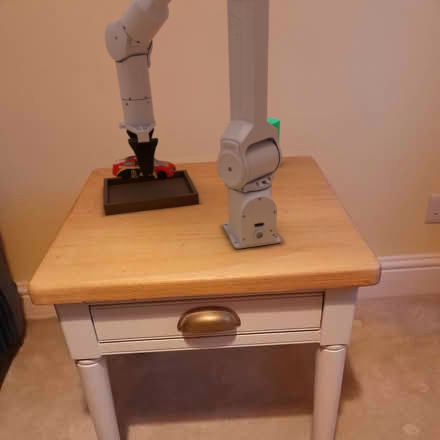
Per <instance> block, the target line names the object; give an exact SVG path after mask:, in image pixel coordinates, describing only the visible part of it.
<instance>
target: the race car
mask: <svg viewBox="0 0 440 440" xmlns="http://www.w3.org/2000/svg"><path fill="white" fill-rule="evenodd" d="M176 171H177V166H176V165H175V164H174V163H173V162H171V161H167V160H159V159H157V158H156V157H154V169H153V174H152V175H142V173H141V170H140V167H139V164H138V161H137V158H136V155H135V154H134V155H129V156H126V157H124V158H120V159H117V160H115V161H114V162H113V164H112V168H111V172H112V174H111V175H112V176H114V177H121V178H122V179H124V180H127V179H129V178H157V177H158V178H159V179H160V180H165V179H166V178H167V176H168V177H171V176H173V175H175V174H176V173H177V172H176Z"/></svg>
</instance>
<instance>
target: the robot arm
mask: <svg viewBox="0 0 440 440" xmlns="http://www.w3.org/2000/svg"><path fill="white" fill-rule="evenodd" d="M171 2H172V0H131V1H130V2H129V4H128V5H127V6H126V7H127V8H126V9H125V10H124V11H123V13H122V16H121V17H120V19H116V20H112V21H109V22H108V23H107V24H106V27H105V30H104V43H105V48H106V50H107V53H108V54H109V56H110V58H111V59H112V60H114V63H115V69H116V76H117V83H118V88H119V95H120V101H121V107H122V113H123V114H122V115H123V121H124V122H119V123H118V128H119V129H124V130H125V131H126V134H127V136H128V137H129V138H127V143H128V146H129V147H130V148H131V150H132V151H133V154H134V155H136V158H137V161H138V164H139V167H140V170H141V173H142V175H152V174H153V169H154V158H155V153H156V149H157V146H158V145H159V138H158V137H153V135H154V132H155V128H156V126H157V122H156V120H155V112H154V107H153V106H154V105H153V104H154V103H153V96H152V87H151V81H150V80H151V79H150V70H149V69H150V68H151V65H152V63H151V56H152V53H153V52H152V51H153V48H154V47H153V46H154V41H153V39H154V38H155V37H156V36H157V34H158V33H159V31H160V30H161V28H162V27H163V25H165V23H166V21H167V20H168V18H169V16H170V8H169V4H170V3H171ZM226 12H227V43H228V44H227V45H228V49H227V50H228V51H227V52H228V85H229V89H228V90H229V119H230V120H229V123H228V125H227V127H226V128H225V130H224V131H223V132H222V135H221V137H220V139H219V144H220V146H219V152H218V156H217V159H216V169H217V174H218V176H219V178H220V180H221V181H222V182H223V184H224V187H226V188H227V200H228V201H227V204H228V208H227V209H228V221H226V222H222V227H223V229H224V230H225V232H226V234H227V237H228V238H229V240H230V242H231V244H232V246H233V247H234V249H237V250H238V249H244V248H245V249H246V248H253V247H260V246H266V245H273V244H280V243H281V242H282V239H281V237H280V236H279V235H278V233H277V222H278V221H277V219H278V208H277V204H276V203H275V201H274V199H273V195H272V193H273V192H272V190H273V188H272V187H273V181H274V180H275V173H276V172H278V171H279V169H280V168H281V166H282V163H283V152H282V148H281V146H280V141H279V142H278V130H277V129H276V128H275V127H274V126H273V125H272V124H270V123H269V122H268V121H267V113H268V89H269V81H268V80H269V36H270V35H269V32H270V31H269V29H270V28H269V27H270V0H226Z"/></svg>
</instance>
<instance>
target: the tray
mask: <svg viewBox="0 0 440 440" xmlns="http://www.w3.org/2000/svg"><path fill="white" fill-rule="evenodd" d="M176 170H177V169H176ZM176 172H177V173H176V174H175V175H173V176H171V177H168V176H167V178H166V179H165V180H160V179H159V178H158V177H157V178H129V179H127V180H124V179H122V178H121V177H116V176H114V177H113V176H112V177H104V178H103V210H104V215H105V216H109V215H111V216H112V215H119V214H125V213H134V212H142V211H143V212H144V211H151V210H157V209H158V210H159V209H167V208H176V207H183V206H192V205H199V204H200V198H199V196H200V195H199V193H198V191H197V188H196V186H195V185H194V182H193V180H192V179H191V177H190V174H189V172H188V171H187V169H179V170H177V171H176Z"/></svg>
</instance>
